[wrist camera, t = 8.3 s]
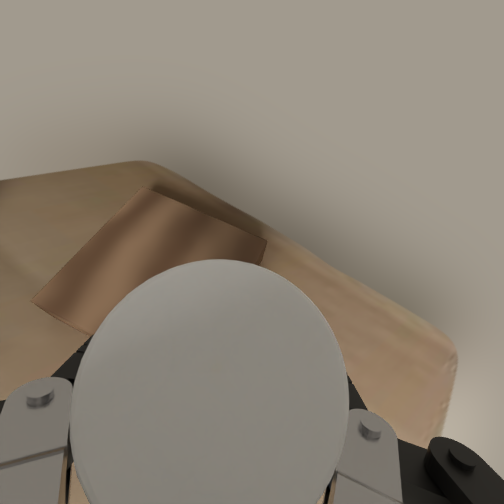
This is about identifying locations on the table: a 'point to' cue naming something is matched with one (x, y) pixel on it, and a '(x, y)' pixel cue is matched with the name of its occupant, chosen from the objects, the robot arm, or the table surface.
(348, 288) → the table surface
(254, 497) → the pill bottle
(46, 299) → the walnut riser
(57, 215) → the table surface
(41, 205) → the table surface
